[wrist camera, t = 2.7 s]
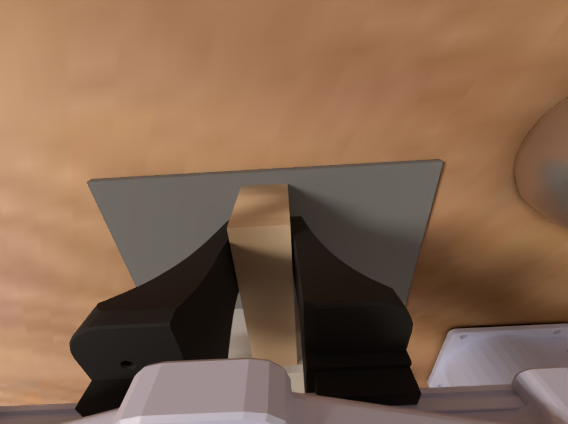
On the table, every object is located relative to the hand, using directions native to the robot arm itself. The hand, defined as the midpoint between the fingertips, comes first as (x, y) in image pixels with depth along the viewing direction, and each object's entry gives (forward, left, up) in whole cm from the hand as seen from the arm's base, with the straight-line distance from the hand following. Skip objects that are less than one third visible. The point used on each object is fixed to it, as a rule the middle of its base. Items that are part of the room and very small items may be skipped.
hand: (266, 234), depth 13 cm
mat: (0, +10, -2) cm, 10 cm away
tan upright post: (0, +3, -2) cm, 4 cm away
